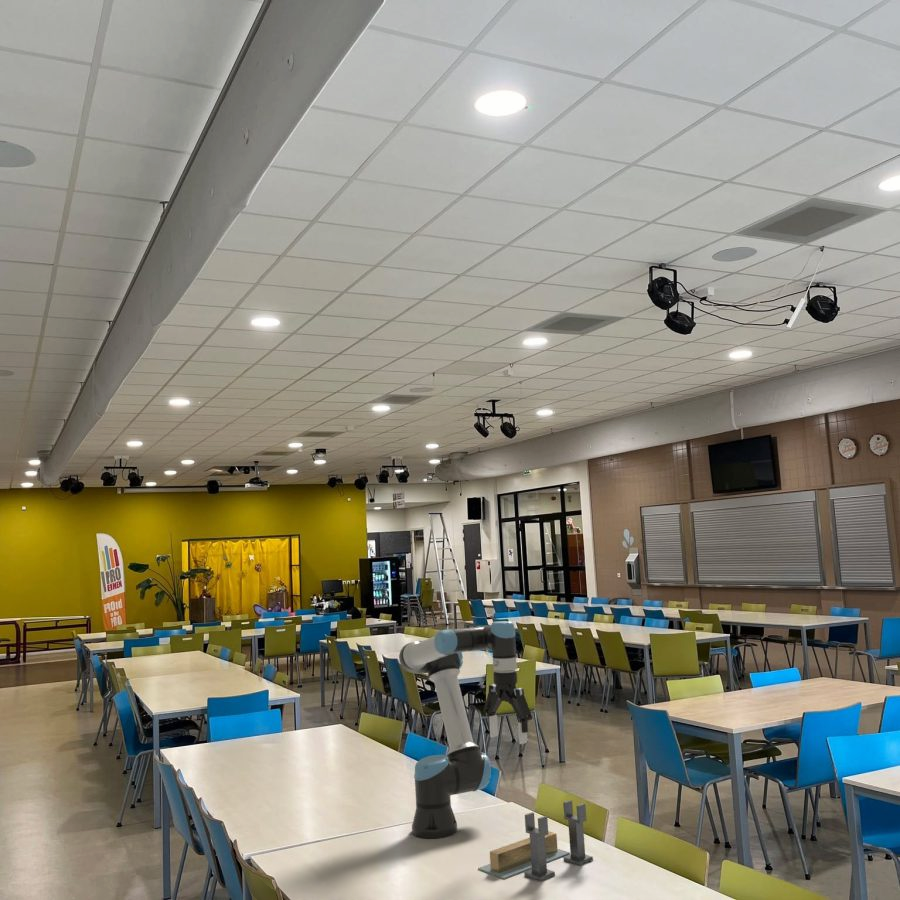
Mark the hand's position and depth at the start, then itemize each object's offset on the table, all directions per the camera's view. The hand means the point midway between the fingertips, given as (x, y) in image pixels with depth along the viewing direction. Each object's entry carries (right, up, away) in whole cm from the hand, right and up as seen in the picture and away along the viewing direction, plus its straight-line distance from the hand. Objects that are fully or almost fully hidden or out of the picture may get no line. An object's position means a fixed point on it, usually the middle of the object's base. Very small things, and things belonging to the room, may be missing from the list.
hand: (508, 740), depth 257 cm
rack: (+13, -28, -24) cm, 39 cm away
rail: (+4, -29, -17) cm, 34 cm away
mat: (+4, -30, -17) cm, 34 cm away
